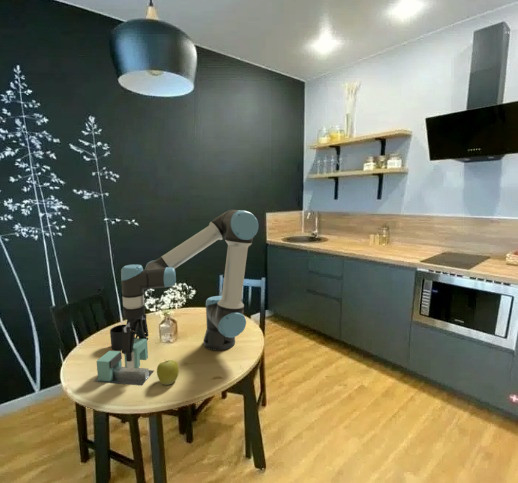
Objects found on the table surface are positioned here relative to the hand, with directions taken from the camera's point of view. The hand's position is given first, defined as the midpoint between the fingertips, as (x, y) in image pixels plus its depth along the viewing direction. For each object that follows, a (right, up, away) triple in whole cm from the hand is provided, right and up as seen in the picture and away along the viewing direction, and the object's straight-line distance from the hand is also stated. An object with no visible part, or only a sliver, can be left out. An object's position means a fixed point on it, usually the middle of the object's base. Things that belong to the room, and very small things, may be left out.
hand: (137, 361), depth 120 cm
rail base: (-6, -7, +2) cm, 9 cm away
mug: (-16, -3, +27) cm, 32 cm away
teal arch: (0, 0, 0) cm, 0 cm away
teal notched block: (-12, -6, +3) cm, 13 cm away
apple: (+13, -7, -1) cm, 15 cm away
